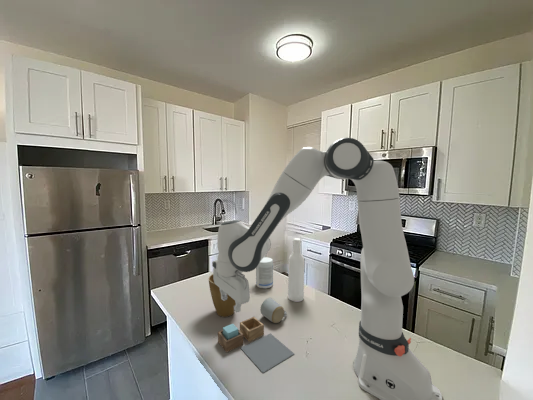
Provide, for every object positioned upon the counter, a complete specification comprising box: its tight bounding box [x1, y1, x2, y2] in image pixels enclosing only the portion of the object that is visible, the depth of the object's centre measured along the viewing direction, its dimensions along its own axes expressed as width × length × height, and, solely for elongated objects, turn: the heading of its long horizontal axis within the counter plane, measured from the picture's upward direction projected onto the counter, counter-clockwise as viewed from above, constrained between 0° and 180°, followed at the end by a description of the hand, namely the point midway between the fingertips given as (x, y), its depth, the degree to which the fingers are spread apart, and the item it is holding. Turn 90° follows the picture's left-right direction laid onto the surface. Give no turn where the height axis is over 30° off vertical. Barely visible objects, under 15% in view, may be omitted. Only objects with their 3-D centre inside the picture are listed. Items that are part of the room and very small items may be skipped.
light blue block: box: [222, 323, 239, 340], centre depth 82 cm, size 4×4×6 cm
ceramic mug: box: [260, 297, 288, 324], centre depth 98 cm, size 11×8×8 cm
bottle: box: [287, 237, 305, 302], centre depth 114 cm, size 8×8×30 cm
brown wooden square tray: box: [217, 328, 244, 353], centre depth 82 cm, size 7×7×4 cm
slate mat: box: [240, 333, 295, 374], centre depth 78 cm, size 13×13×1 cm
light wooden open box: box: [239, 316, 265, 343], centre depth 88 cm, size 7×7×4 cm
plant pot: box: [208, 273, 236, 318], centre depth 102 cm, size 15×15×16 cm
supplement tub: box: [255, 256, 274, 289], centre depth 129 cm, size 10×10×15 cm
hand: (230, 305), depth 81 cm, fingers open, 8 cm apart
